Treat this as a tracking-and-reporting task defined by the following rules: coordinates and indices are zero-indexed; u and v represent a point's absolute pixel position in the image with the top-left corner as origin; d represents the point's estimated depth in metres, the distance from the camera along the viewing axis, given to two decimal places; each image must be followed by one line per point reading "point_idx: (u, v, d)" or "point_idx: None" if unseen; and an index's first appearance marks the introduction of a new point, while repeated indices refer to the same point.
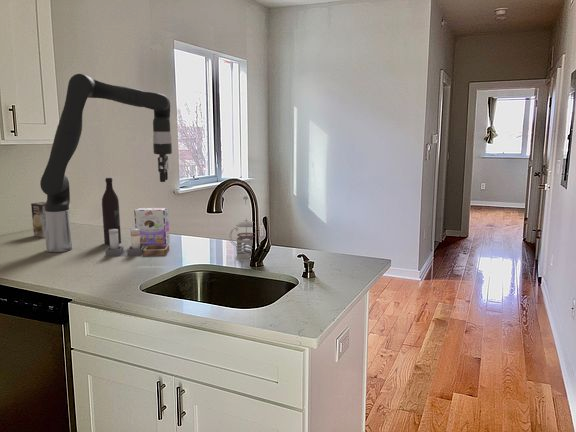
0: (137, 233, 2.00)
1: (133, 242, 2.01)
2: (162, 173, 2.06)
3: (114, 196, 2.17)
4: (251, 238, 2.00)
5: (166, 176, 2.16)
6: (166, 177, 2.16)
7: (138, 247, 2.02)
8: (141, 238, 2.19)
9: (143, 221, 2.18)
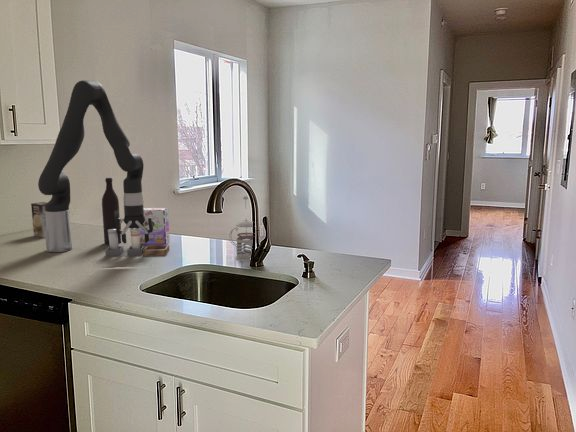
0: (137, 233, 2.00)
1: (133, 242, 2.01)
2: (148, 233, 2.02)
3: (114, 196, 2.17)
4: (251, 238, 2.00)
5: None
6: None
7: (138, 247, 2.02)
8: (141, 238, 2.19)
9: None
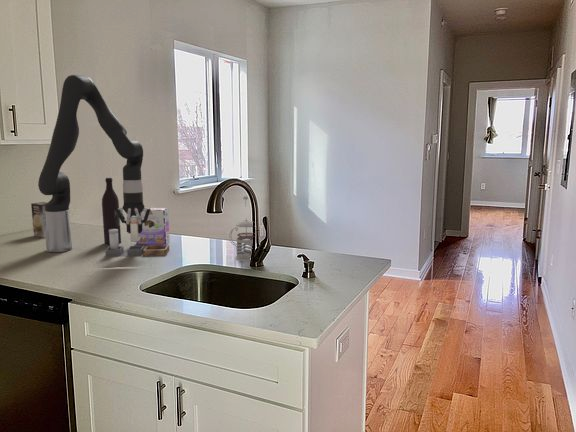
0: (136, 221, 2.00)
1: (132, 230, 2.00)
2: None
3: (114, 196, 2.17)
4: (251, 238, 2.00)
5: None
6: None
7: (137, 235, 2.01)
8: (141, 238, 2.19)
9: None
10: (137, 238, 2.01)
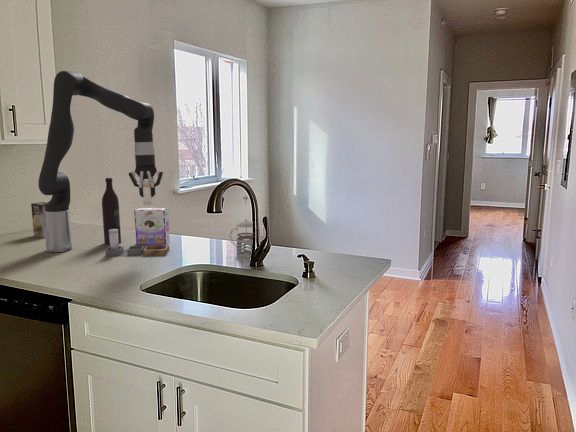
0: (149, 184, 1.97)
1: (145, 193, 1.97)
2: (154, 187, 1.99)
3: (114, 196, 2.17)
4: (251, 238, 2.00)
5: None
6: None
7: (150, 198, 1.98)
8: (141, 238, 2.19)
9: (143, 221, 2.18)
10: (150, 201, 1.98)
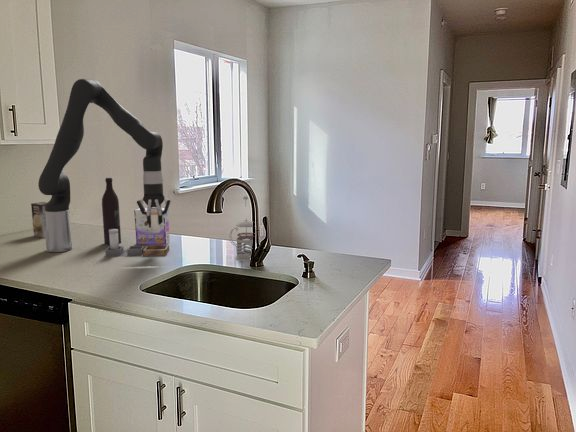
0: (156, 212, 2.00)
1: (152, 221, 2.00)
2: (162, 215, 2.02)
3: (114, 196, 2.17)
4: (251, 238, 2.00)
5: None
6: None
7: (157, 226, 2.01)
8: (141, 238, 2.19)
9: (143, 221, 2.18)
10: (157, 229, 2.01)
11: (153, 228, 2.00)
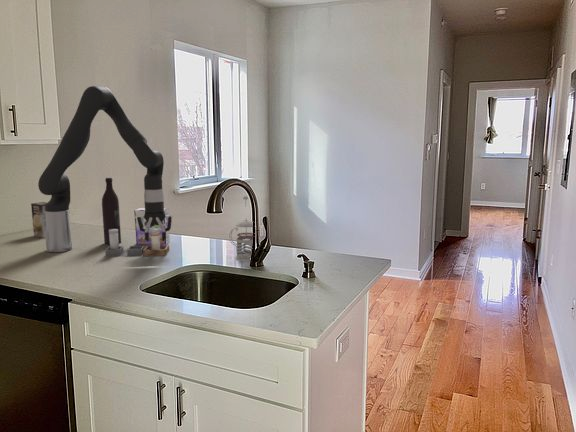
0: (157, 233, 2.01)
1: (153, 242, 2.02)
2: None
3: (114, 196, 2.17)
4: (251, 238, 2.00)
5: None
6: None
7: (158, 247, 2.02)
8: (141, 238, 2.19)
9: (143, 221, 2.18)
10: None
11: (154, 249, 2.02)
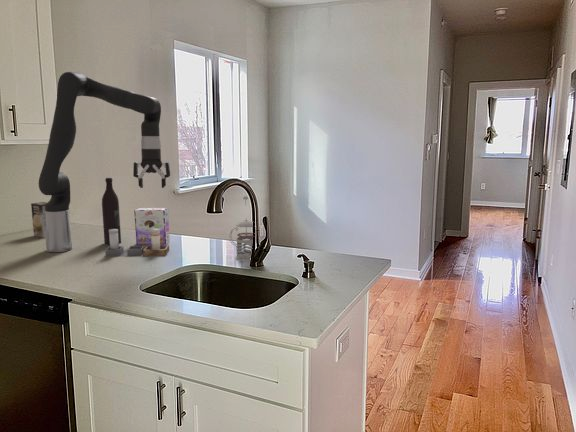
0: (157, 233, 2.01)
1: (153, 242, 2.02)
2: (165, 178, 2.02)
3: (114, 196, 2.17)
4: (251, 238, 2.00)
5: (142, 183, 2.02)
6: (142, 184, 2.02)
7: (158, 247, 2.02)
8: (141, 238, 2.19)
9: (143, 221, 2.18)
10: None
11: (154, 249, 2.02)
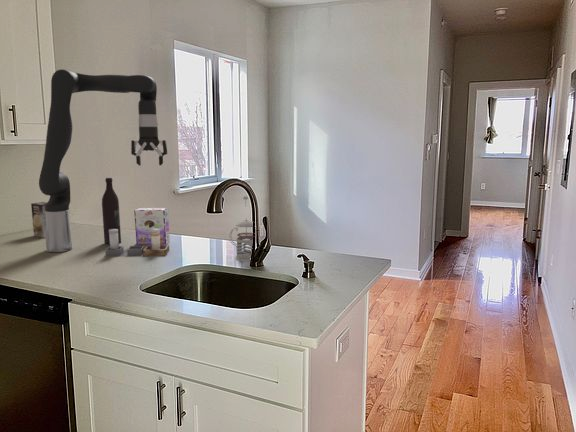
0: (157, 233, 2.01)
1: (153, 242, 2.02)
2: (162, 156, 2.07)
3: (114, 196, 2.17)
4: (251, 238, 2.00)
5: (140, 161, 2.07)
6: (140, 162, 2.07)
7: (158, 247, 2.02)
8: (141, 238, 2.19)
9: (143, 221, 2.18)
10: None
11: (154, 249, 2.02)
